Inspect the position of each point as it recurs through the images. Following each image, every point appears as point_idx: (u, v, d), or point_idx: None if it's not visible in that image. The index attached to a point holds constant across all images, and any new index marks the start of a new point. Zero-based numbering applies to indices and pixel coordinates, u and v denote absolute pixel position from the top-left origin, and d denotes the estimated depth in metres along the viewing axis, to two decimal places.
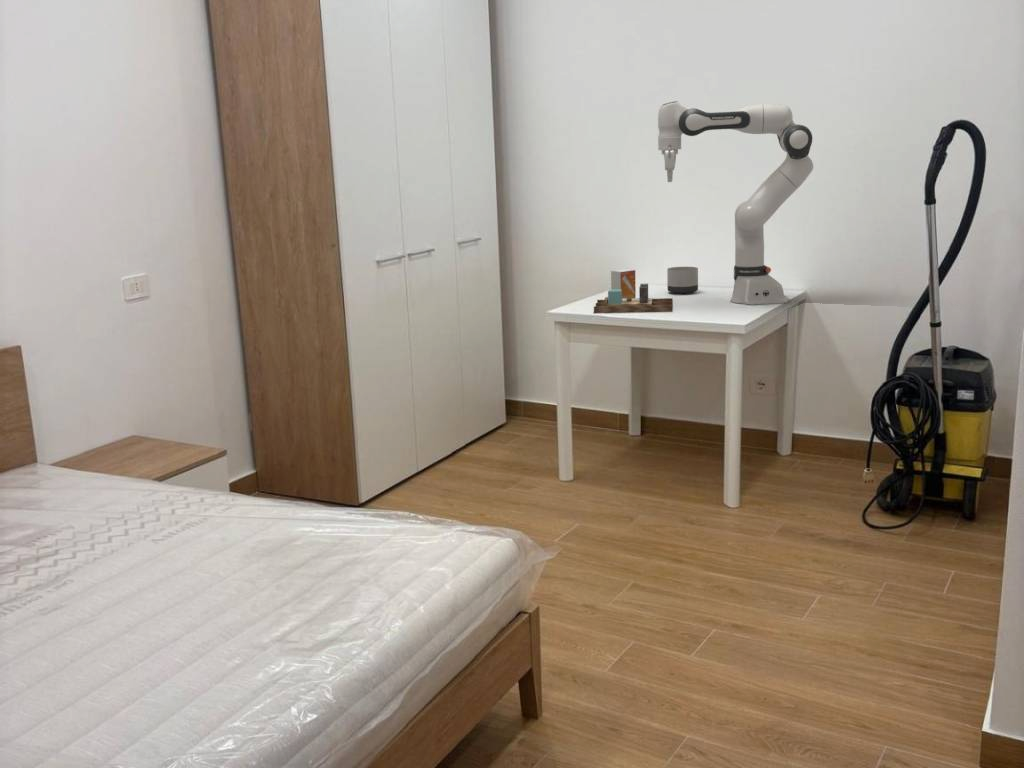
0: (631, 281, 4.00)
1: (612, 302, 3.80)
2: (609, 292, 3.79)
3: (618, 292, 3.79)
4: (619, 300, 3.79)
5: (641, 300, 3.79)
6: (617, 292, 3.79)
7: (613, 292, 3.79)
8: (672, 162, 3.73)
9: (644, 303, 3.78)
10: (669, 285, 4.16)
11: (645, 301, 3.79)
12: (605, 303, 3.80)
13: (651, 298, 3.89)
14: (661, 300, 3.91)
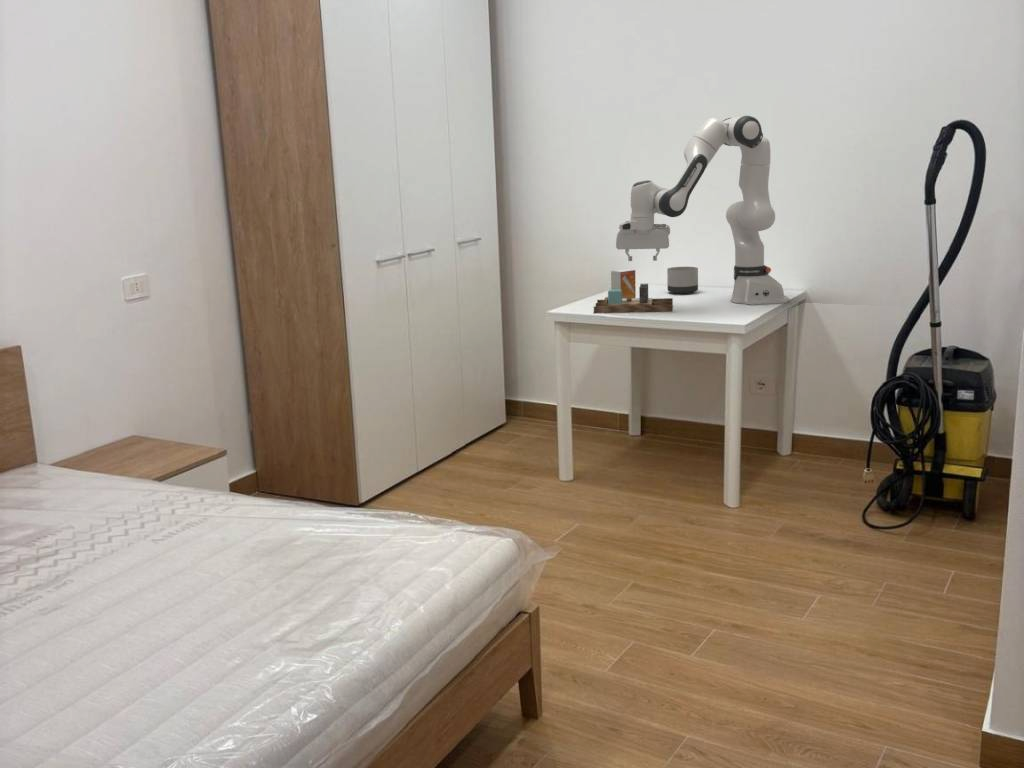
0: (631, 281, 4.00)
1: (612, 302, 3.80)
2: (609, 292, 3.79)
3: (618, 292, 3.79)
4: (619, 300, 3.79)
5: (641, 300, 3.79)
6: (617, 292, 3.79)
7: (613, 292, 3.79)
8: None
9: (644, 303, 3.78)
10: (669, 285, 4.16)
11: (645, 301, 3.79)
12: (605, 303, 3.80)
13: (651, 298, 3.89)
14: (661, 300, 3.91)
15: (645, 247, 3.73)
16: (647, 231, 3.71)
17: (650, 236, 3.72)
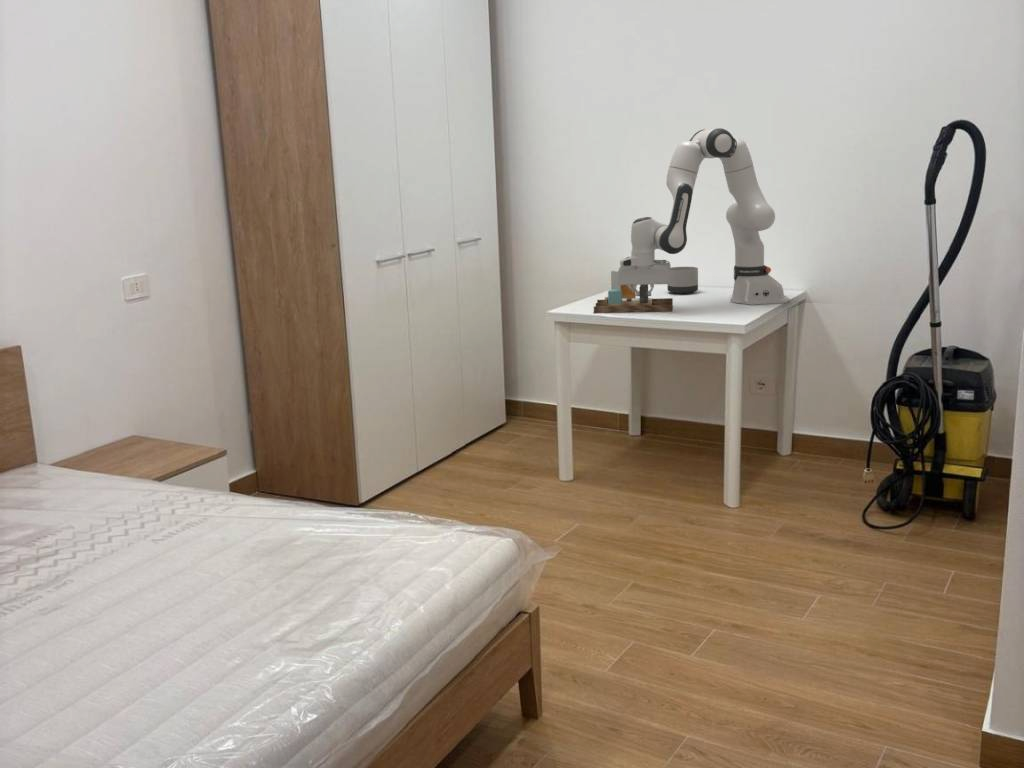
0: None
1: (612, 302, 3.80)
2: (609, 292, 3.79)
3: (618, 292, 3.79)
4: (619, 300, 3.79)
5: (641, 300, 3.79)
6: (617, 292, 3.79)
7: (613, 292, 3.79)
8: None
9: (644, 303, 3.78)
10: (669, 285, 4.16)
11: (645, 301, 3.79)
12: (605, 303, 3.80)
13: (651, 298, 3.89)
14: (661, 300, 3.91)
15: (645, 282, 3.77)
16: (648, 267, 3.74)
17: (651, 272, 3.76)
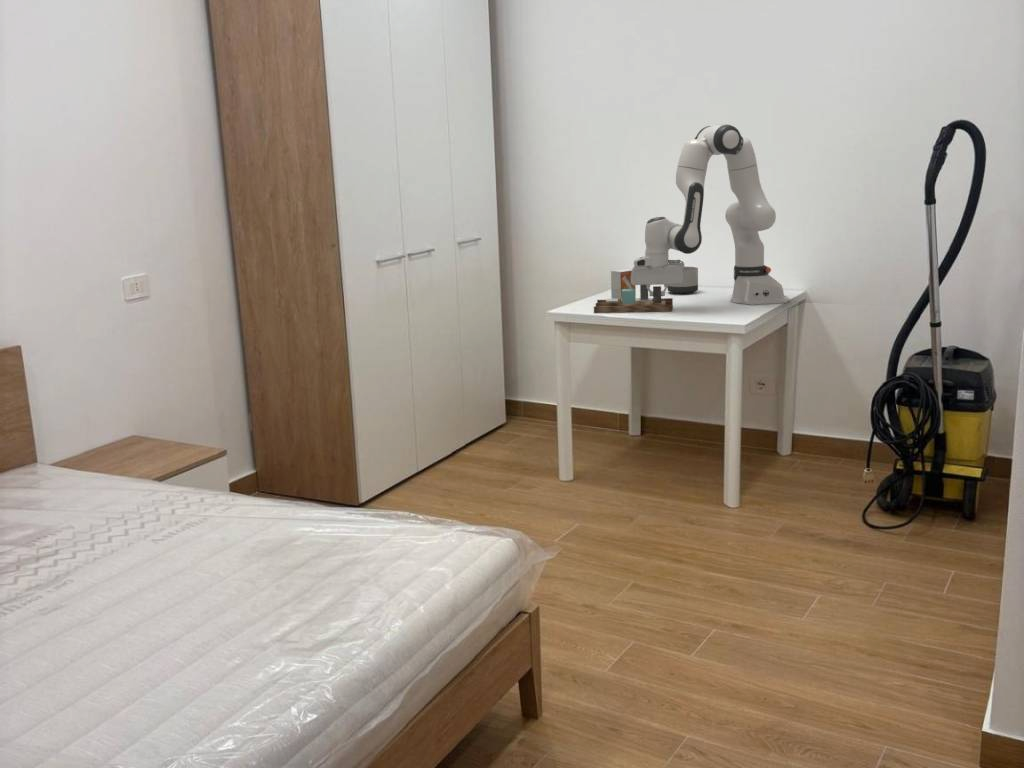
0: None
1: (626, 301, 3.79)
2: (623, 292, 3.78)
3: (632, 292, 3.78)
4: (633, 300, 3.78)
5: (655, 300, 3.78)
6: (631, 292, 3.78)
7: (627, 292, 3.78)
8: None
9: (658, 303, 3.77)
10: (669, 285, 4.16)
11: (659, 301, 3.78)
12: (619, 303, 3.79)
13: (651, 298, 3.89)
14: (661, 300, 3.91)
15: (659, 282, 3.76)
16: (661, 267, 3.74)
17: (664, 272, 3.75)
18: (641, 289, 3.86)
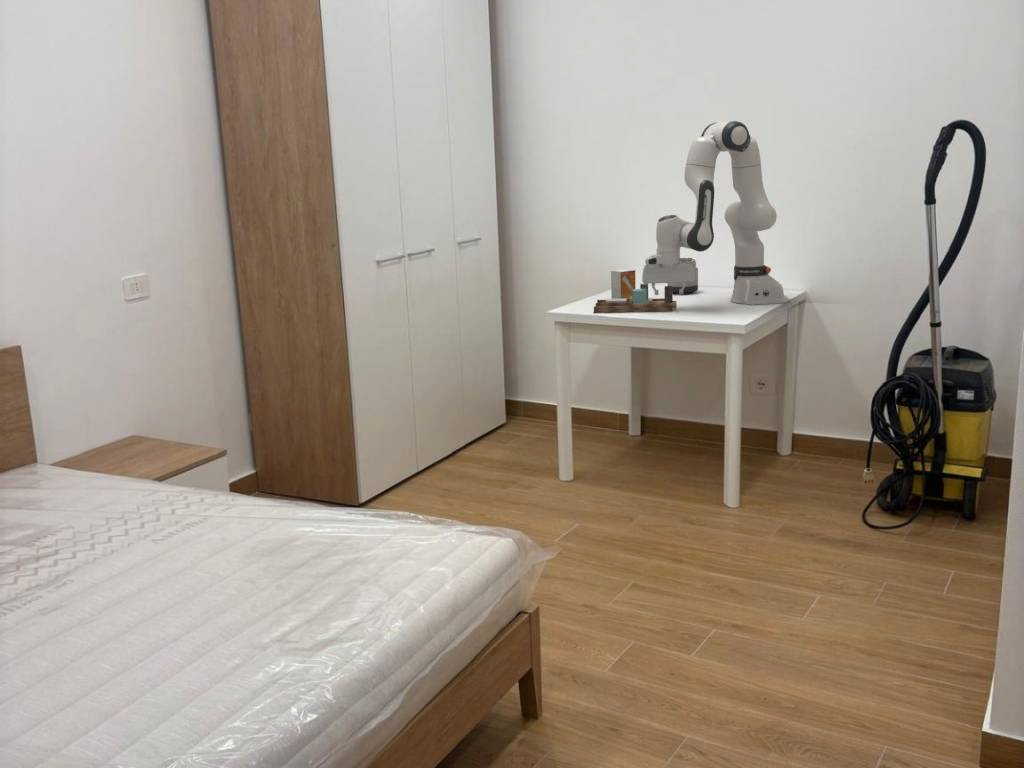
0: (631, 281, 4.00)
1: (637, 301, 3.78)
2: (634, 291, 3.77)
3: (643, 291, 3.77)
4: (644, 300, 3.78)
5: (666, 300, 3.77)
6: (642, 291, 3.77)
7: (638, 291, 3.77)
8: None
9: (670, 302, 3.77)
10: (669, 285, 4.16)
11: (670, 301, 3.77)
12: (630, 303, 3.78)
13: (651, 298, 3.89)
14: (661, 300, 3.91)
15: (671, 281, 3.75)
16: (673, 265, 3.73)
17: (676, 270, 3.74)
18: None
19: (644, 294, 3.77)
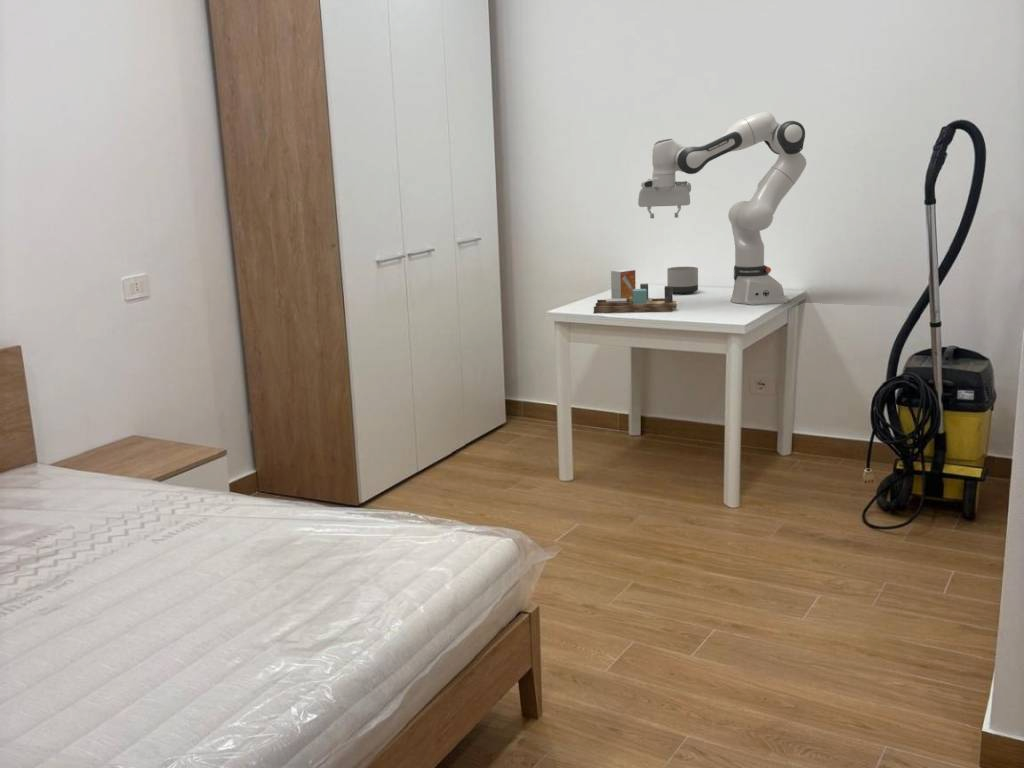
0: (631, 281, 4.00)
1: (637, 301, 3.78)
2: (634, 291, 3.77)
3: (643, 291, 3.77)
4: (644, 300, 3.78)
5: (666, 300, 3.77)
6: (642, 291, 3.77)
7: (638, 291, 3.77)
8: None
9: (670, 302, 3.77)
10: (669, 285, 4.16)
11: (670, 301, 3.77)
12: (630, 303, 3.78)
13: (651, 298, 3.89)
14: (661, 300, 3.91)
15: (666, 204, 3.83)
16: (669, 188, 3.81)
17: (672, 194, 3.82)
18: None
19: (644, 294, 3.77)
